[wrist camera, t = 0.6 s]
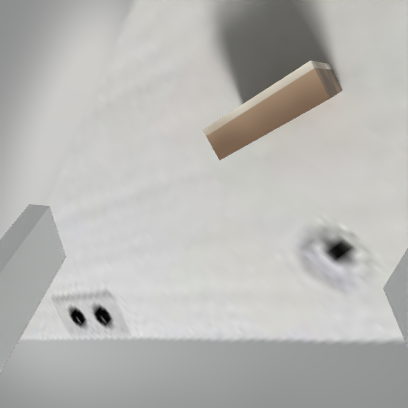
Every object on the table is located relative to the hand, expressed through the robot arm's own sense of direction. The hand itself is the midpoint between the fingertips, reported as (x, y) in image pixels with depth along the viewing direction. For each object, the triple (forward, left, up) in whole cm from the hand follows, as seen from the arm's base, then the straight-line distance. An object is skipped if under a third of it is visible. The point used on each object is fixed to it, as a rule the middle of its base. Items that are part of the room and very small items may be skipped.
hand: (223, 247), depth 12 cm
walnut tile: (-1, -4, -28) cm, 28 cm away
